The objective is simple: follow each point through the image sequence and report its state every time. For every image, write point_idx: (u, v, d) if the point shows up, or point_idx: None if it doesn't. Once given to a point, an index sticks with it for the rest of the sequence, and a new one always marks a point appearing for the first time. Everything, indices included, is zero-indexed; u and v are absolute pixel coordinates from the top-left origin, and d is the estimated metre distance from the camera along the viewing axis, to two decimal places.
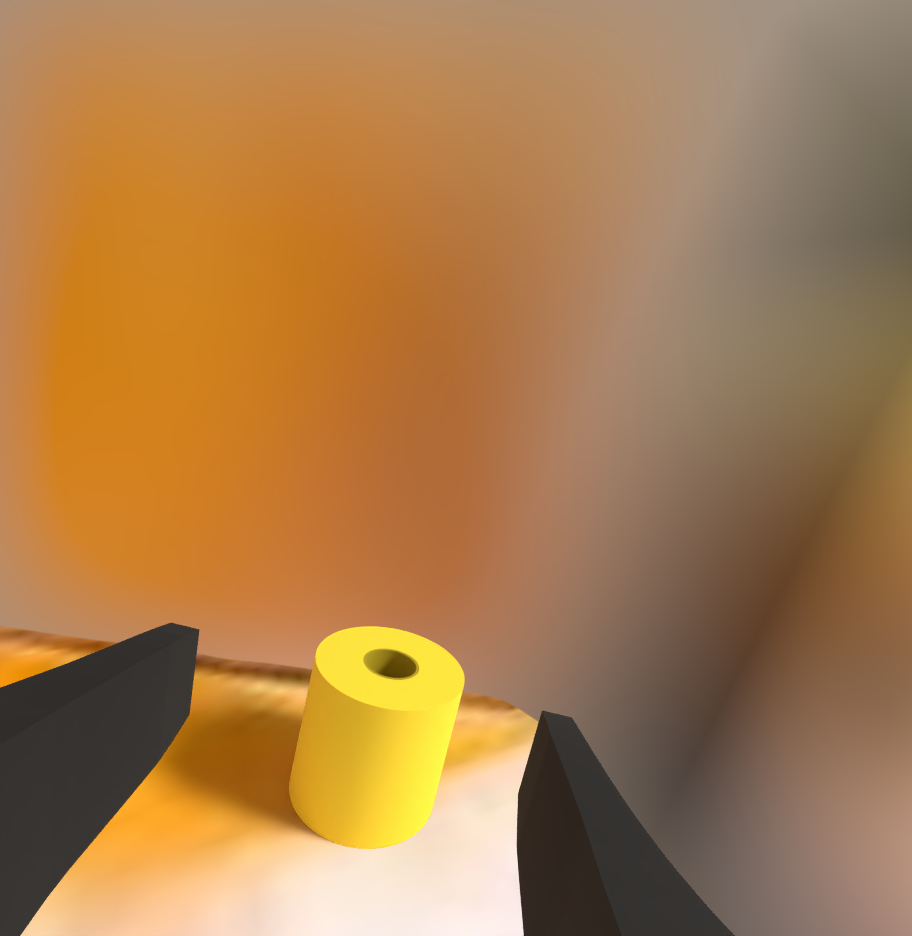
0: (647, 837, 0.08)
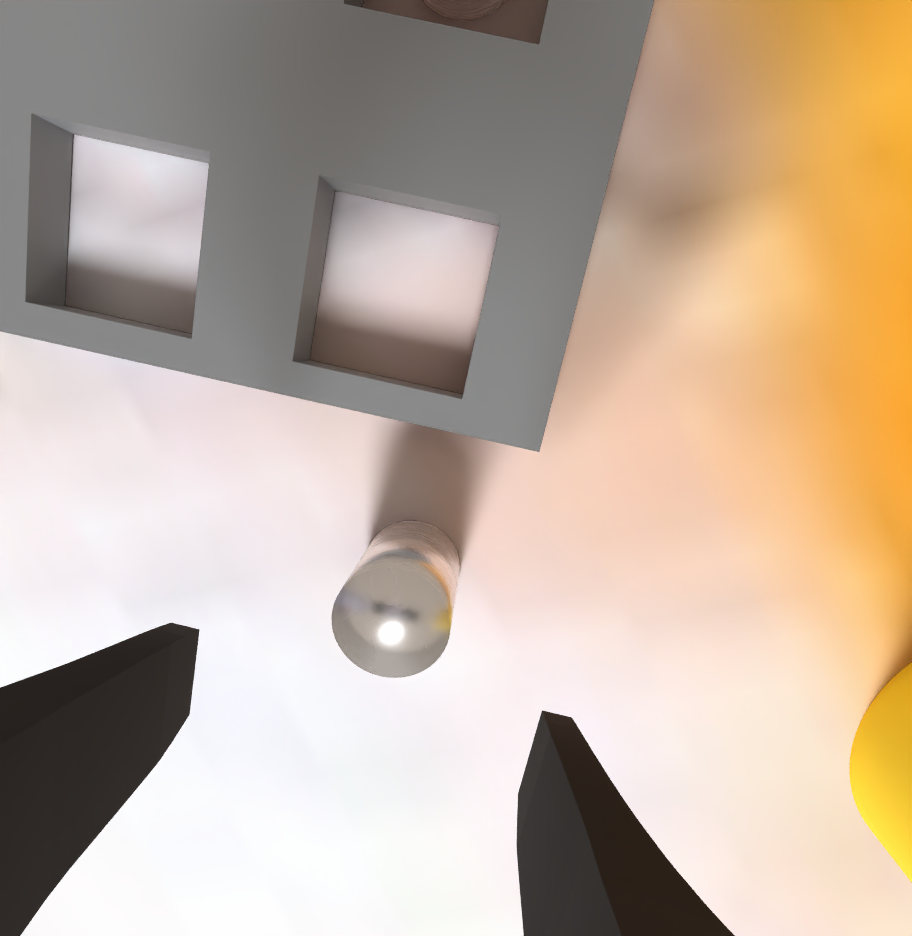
0: (647, 837, 0.08)
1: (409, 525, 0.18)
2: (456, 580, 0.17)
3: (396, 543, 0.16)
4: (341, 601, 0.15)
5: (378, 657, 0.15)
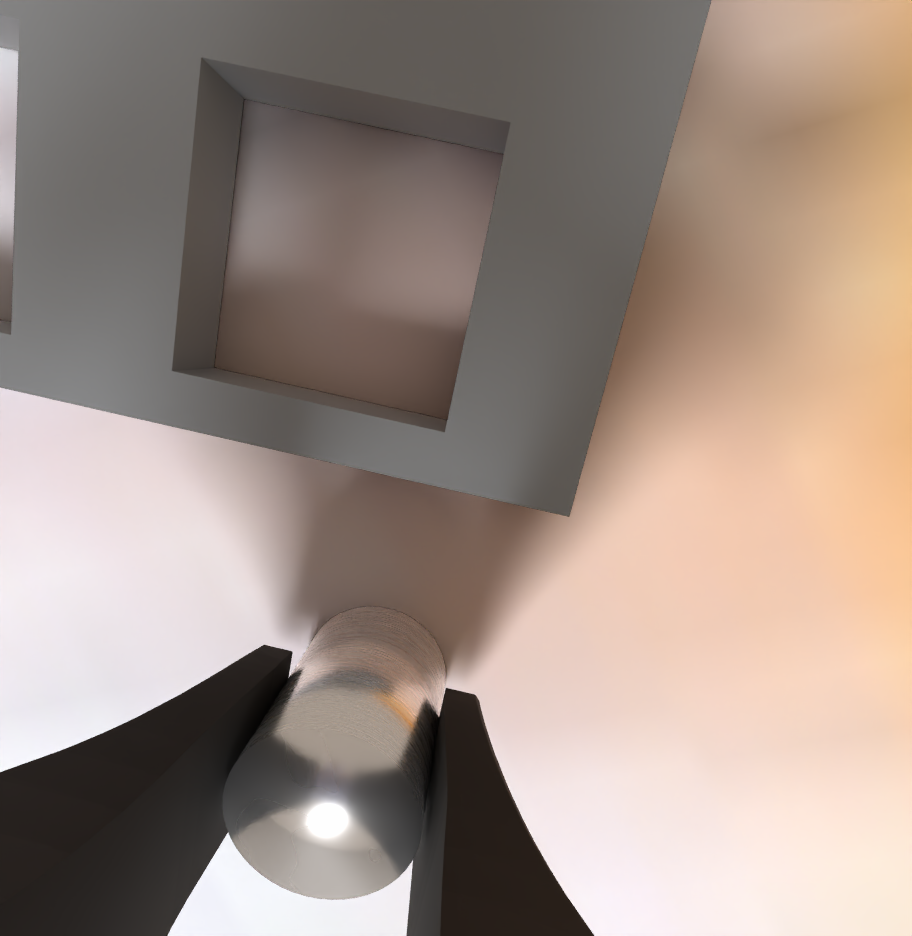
0: (510, 804, 0.08)
1: (368, 617, 0.12)
2: (438, 709, 0.11)
3: (340, 660, 0.10)
4: (237, 780, 0.09)
5: (302, 868, 0.09)
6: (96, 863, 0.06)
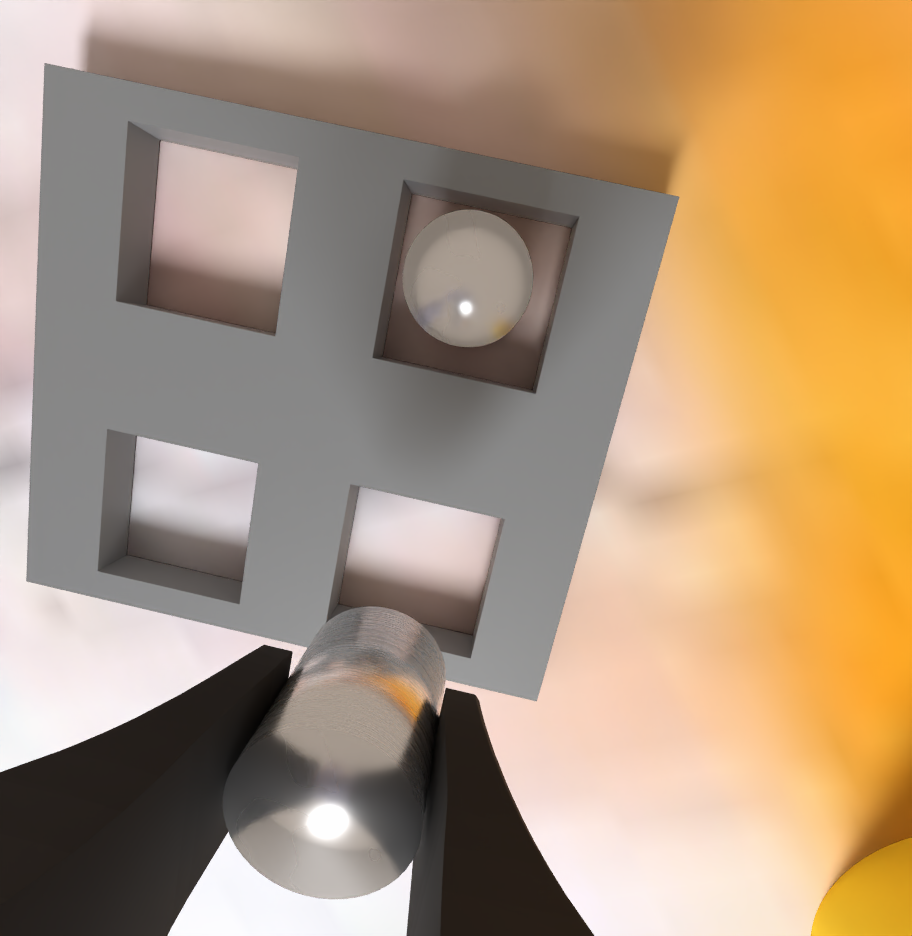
0: (510, 804, 0.08)
1: (369, 617, 0.12)
2: (438, 708, 0.11)
3: (340, 660, 0.10)
4: (237, 780, 0.09)
5: (302, 868, 0.09)
6: (96, 863, 0.06)
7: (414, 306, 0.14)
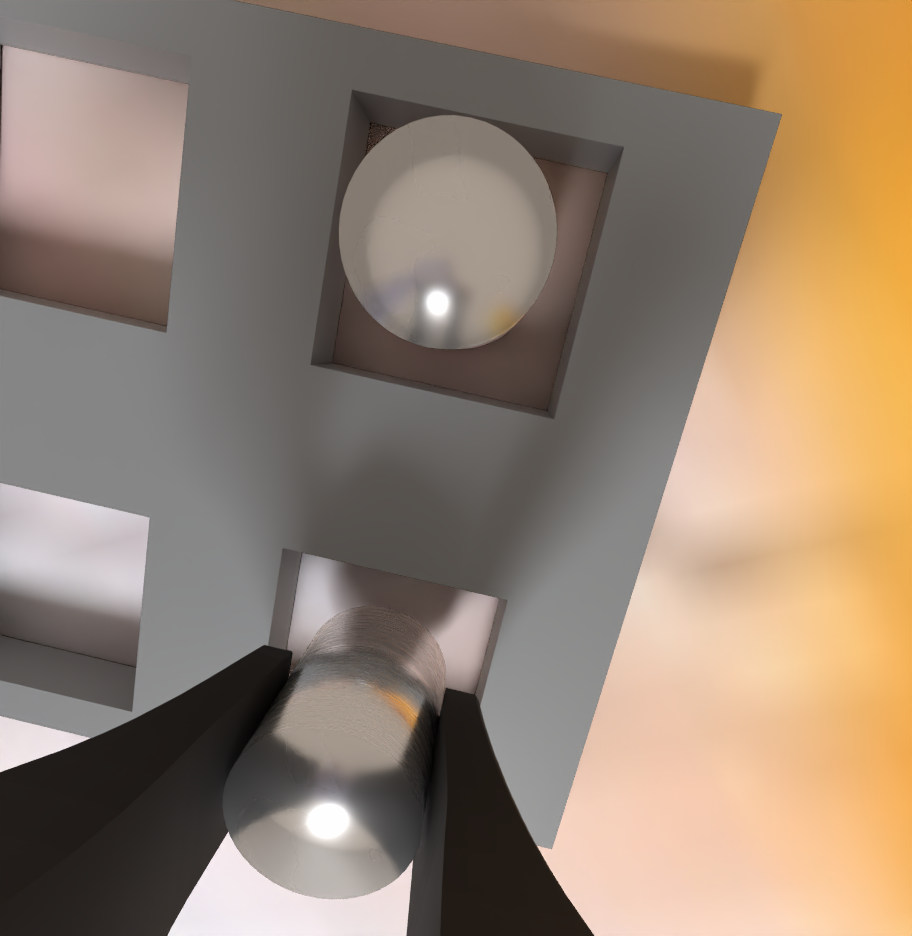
0: (510, 804, 0.08)
1: (369, 617, 0.12)
2: (438, 708, 0.11)
3: (340, 660, 0.10)
4: (237, 779, 0.09)
5: (303, 867, 0.09)
6: (96, 863, 0.06)
7: (359, 282, 0.08)
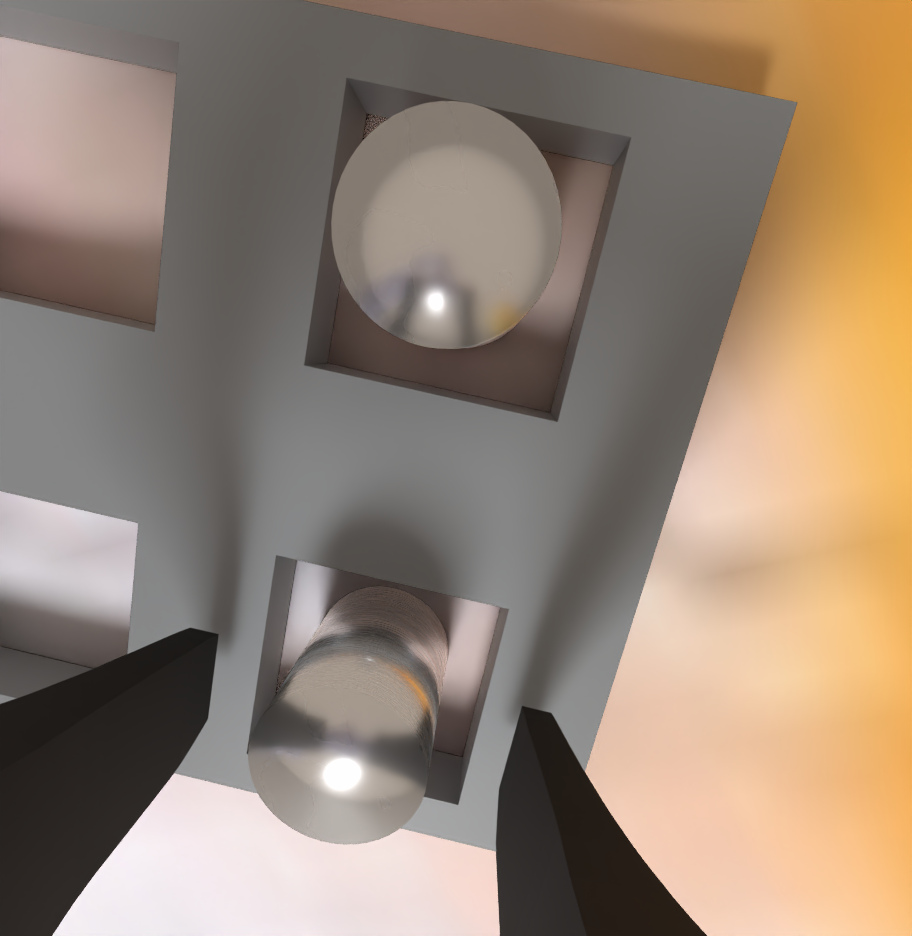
0: (619, 830, 0.08)
1: (377, 595, 0.13)
2: (441, 678, 0.12)
3: (352, 631, 0.11)
4: (261, 735, 0.10)
5: (320, 815, 0.10)
6: None
7: (353, 278, 0.08)
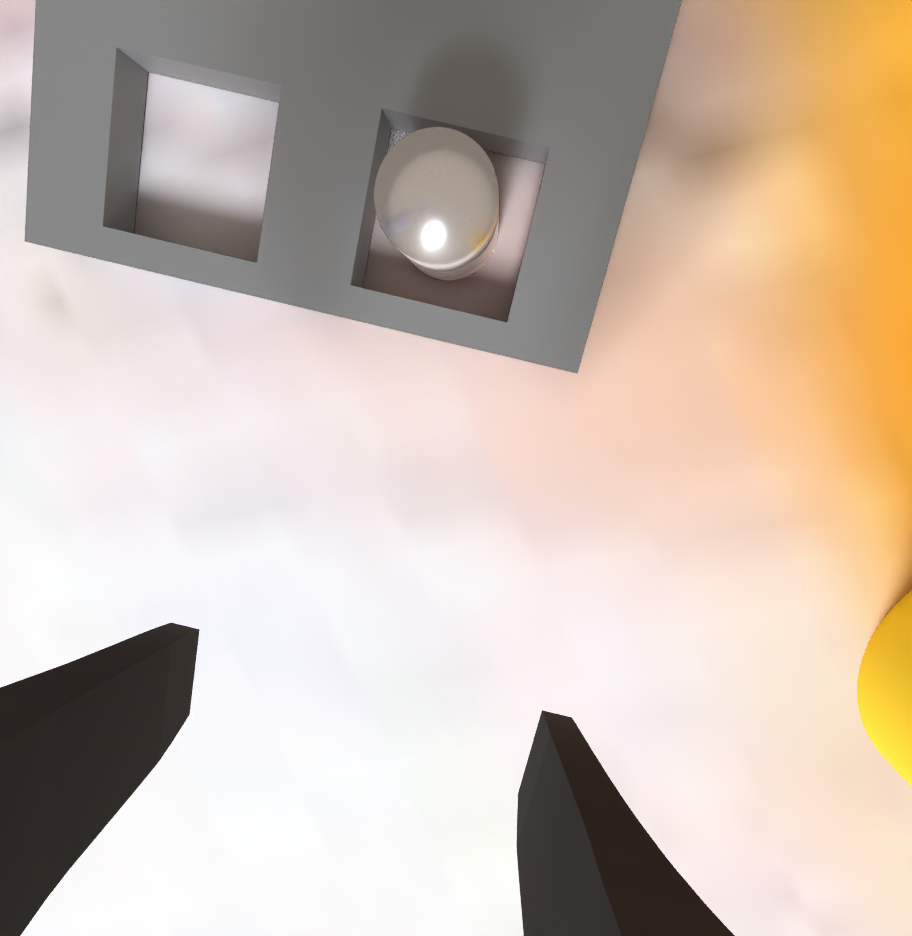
0: (647, 837, 0.08)
1: None
2: None
3: None
4: (385, 170, 0.14)
5: (421, 238, 0.14)
6: None
7: None
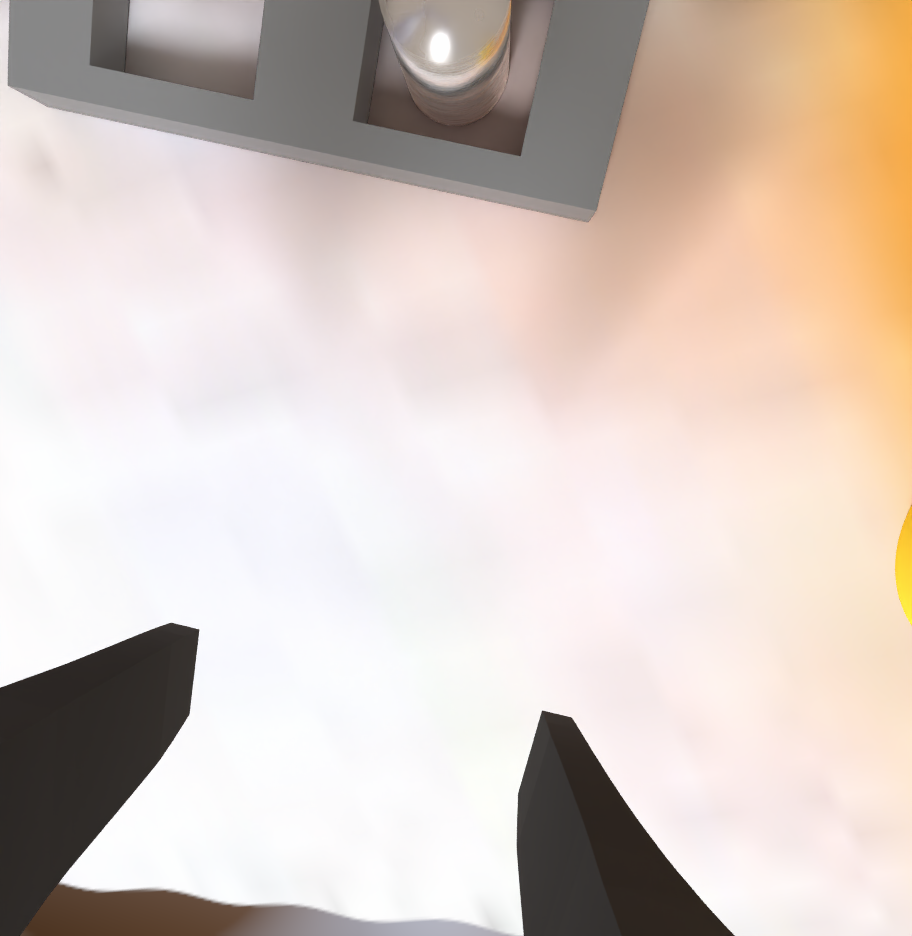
0: (647, 837, 0.08)
1: None
2: None
3: None
4: None
5: (429, 34, 0.13)
6: None
7: None
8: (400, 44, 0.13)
